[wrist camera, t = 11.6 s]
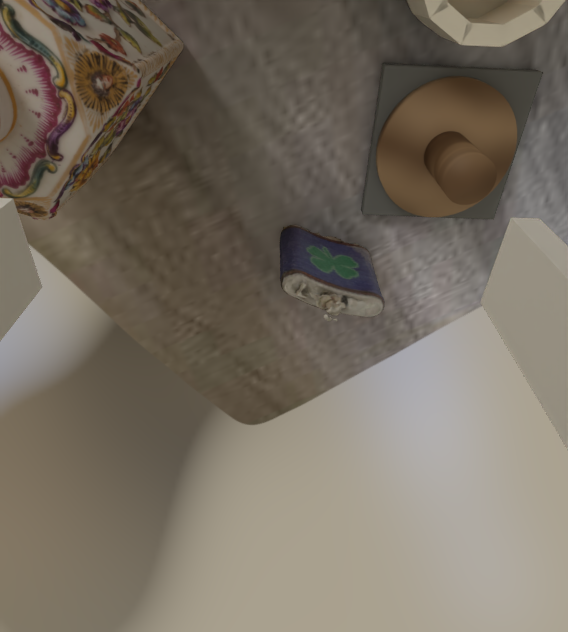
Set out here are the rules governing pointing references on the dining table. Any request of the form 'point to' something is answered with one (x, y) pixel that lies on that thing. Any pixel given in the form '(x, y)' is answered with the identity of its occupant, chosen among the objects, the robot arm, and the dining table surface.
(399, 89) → the mat
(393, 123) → the lid
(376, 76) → the dining table surface
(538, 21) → the bowl
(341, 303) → the flask
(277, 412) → the dining table surface
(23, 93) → the decorative jar
